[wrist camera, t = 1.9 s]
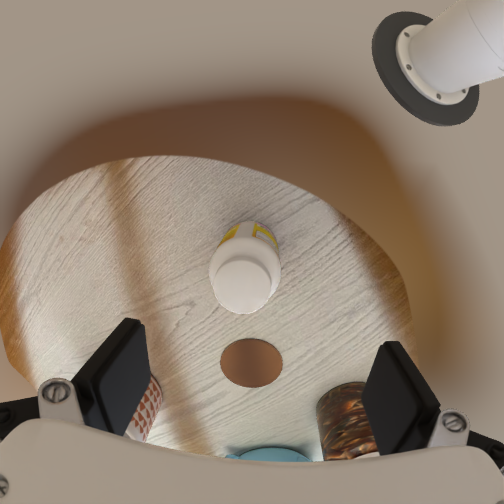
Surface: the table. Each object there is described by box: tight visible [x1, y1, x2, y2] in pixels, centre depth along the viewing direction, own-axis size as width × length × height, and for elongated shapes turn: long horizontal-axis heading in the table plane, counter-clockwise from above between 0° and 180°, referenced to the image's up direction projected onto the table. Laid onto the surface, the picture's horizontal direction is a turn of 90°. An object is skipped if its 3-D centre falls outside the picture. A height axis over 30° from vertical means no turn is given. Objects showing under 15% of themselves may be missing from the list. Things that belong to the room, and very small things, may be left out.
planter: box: [123, 375, 162, 443], centre depth 36 cm, size 14×14×13 cm
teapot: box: [225, 448, 313, 462], centre depth 40 cm, size 19×19×14 cm
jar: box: [316, 382, 380, 461], centre depth 34 cm, size 12×12×15 cm
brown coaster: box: [220, 339, 283, 388], centre depth 39 cm, size 9×9×1 cm
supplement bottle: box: [209, 221, 281, 314], centre depth 29 cm, size 7×7×13 cm
